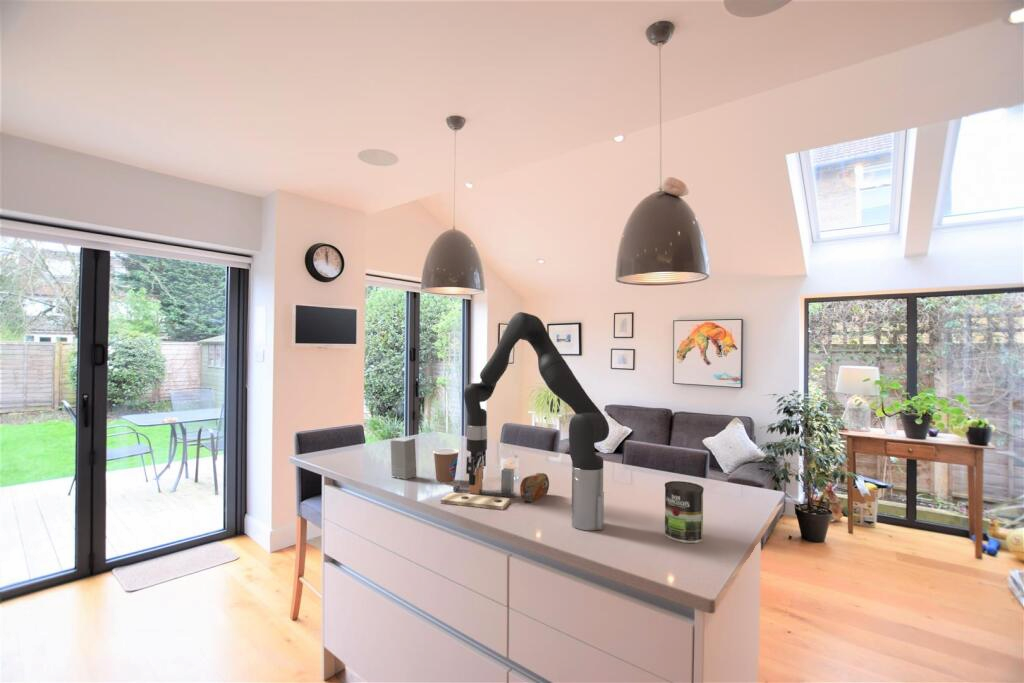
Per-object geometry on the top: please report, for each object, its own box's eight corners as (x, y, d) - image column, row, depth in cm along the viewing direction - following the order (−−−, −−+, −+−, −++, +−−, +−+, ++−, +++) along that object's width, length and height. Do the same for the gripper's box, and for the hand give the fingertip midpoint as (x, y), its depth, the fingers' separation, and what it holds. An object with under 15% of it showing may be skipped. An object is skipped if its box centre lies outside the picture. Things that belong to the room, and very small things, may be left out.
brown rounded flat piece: (525, 504, 156) (526, 479, 157) (518, 503, 158) (518, 478, 158) (549, 495, 168) (549, 471, 169) (542, 493, 170) (542, 470, 170)
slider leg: (482, 491, 170) (482, 466, 171) (478, 494, 167) (479, 468, 167) (473, 490, 171) (473, 465, 172) (469, 493, 168) (470, 467, 168)
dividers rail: (516, 495, 167) (517, 469, 167) (514, 498, 163) (514, 471, 164) (457, 489, 173) (457, 464, 174) (453, 491, 170) (453, 466, 170)
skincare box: (416, 477, 190) (417, 438, 191) (404, 480, 184) (405, 440, 185) (401, 474, 195) (402, 436, 196) (389, 477, 189) (390, 438, 190)
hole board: (510, 501, 159) (510, 497, 159) (502, 509, 150) (502, 505, 150) (451, 495, 165) (451, 492, 165) (440, 503, 156) (440, 499, 156)
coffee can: (693, 546, 122) (693, 493, 123) (657, 535, 130) (658, 485, 130) (709, 536, 130) (709, 486, 130) (674, 527, 137) (675, 479, 138)
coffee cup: (454, 485, 179) (455, 454, 179) (428, 484, 180) (429, 453, 181) (461, 478, 189) (462, 449, 189) (437, 477, 190) (437, 448, 191)
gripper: (479, 441, 162) (479, 488, 161) (492, 435, 176) (492, 478, 175) (460, 439, 164) (459, 486, 164) (474, 434, 178) (473, 476, 177)
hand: (476, 482), depth 169 cm, fingers open, 8 cm apart
